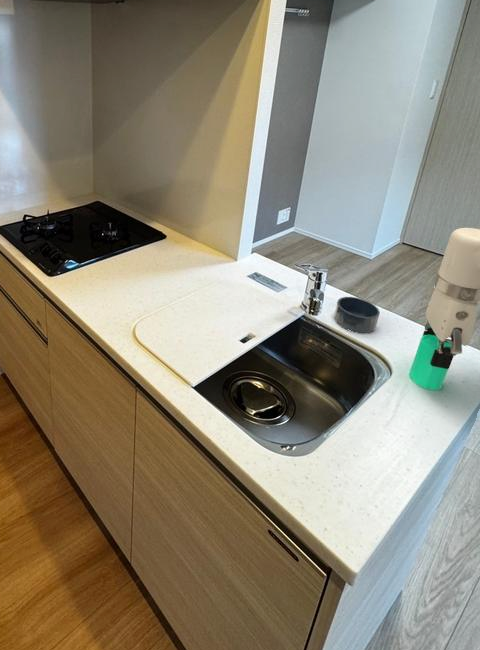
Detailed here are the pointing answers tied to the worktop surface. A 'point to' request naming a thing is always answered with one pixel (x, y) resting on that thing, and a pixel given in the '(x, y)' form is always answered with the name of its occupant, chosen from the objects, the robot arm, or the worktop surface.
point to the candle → (427, 364)
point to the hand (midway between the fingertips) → (433, 355)
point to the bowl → (356, 314)
